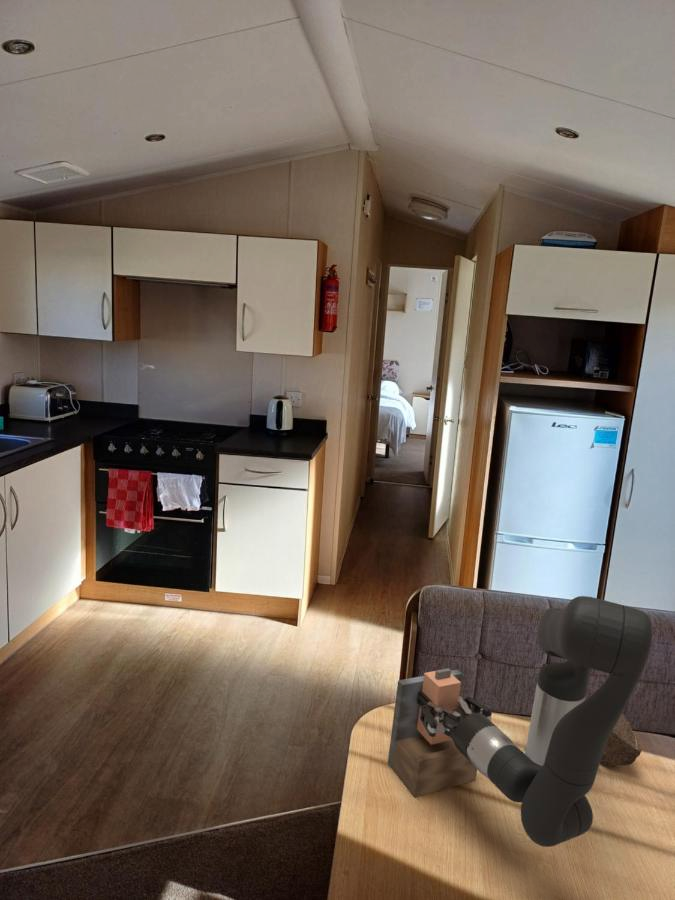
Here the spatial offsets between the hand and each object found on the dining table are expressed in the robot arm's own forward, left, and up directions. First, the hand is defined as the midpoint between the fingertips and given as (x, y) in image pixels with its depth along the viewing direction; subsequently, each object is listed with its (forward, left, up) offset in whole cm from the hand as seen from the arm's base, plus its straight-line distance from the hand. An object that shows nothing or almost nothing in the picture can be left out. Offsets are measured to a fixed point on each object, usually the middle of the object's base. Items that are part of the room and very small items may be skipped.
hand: (431, 694), depth 127 cm
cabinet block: (-1, +2, -7) cm, 7 cm away
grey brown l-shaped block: (-2, +3, -15) cm, 15 cm away
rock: (-39, -9, -15) cm, 43 cm away
